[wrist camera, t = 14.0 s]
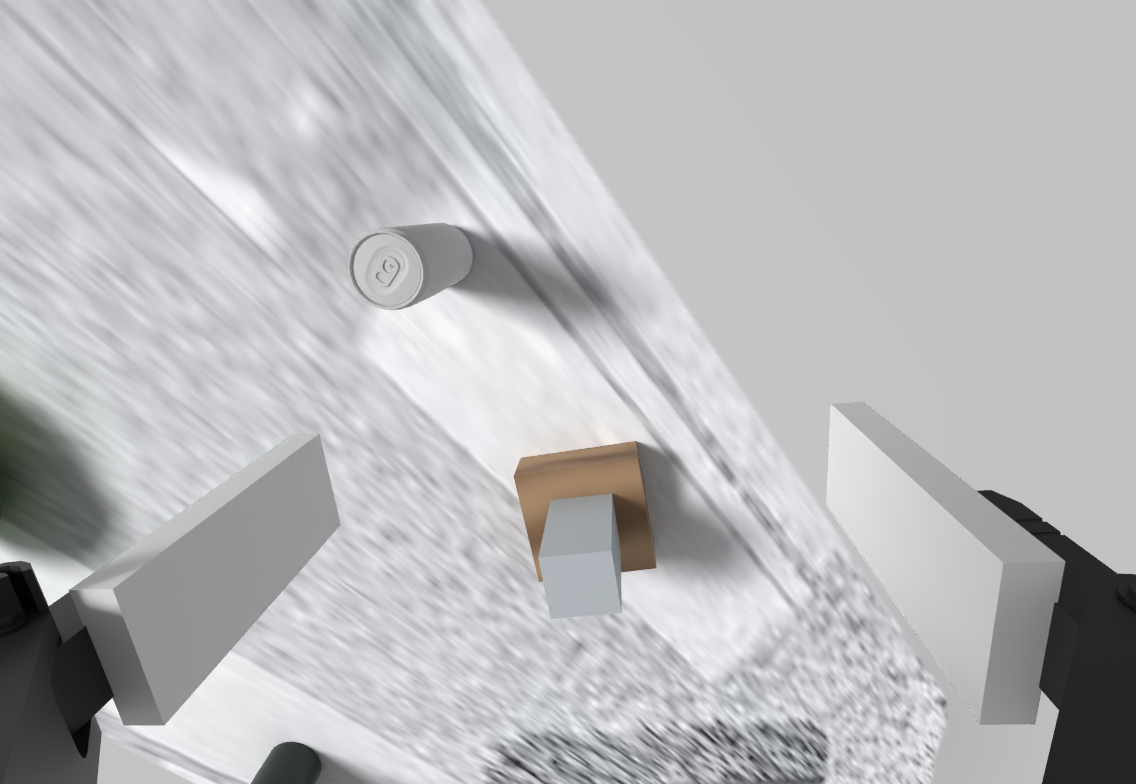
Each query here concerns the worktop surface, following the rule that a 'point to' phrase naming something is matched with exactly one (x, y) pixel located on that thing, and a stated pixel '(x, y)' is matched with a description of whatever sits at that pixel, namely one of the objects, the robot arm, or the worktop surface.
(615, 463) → the walnut block
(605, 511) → the slate block
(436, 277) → the beverage can
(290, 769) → the wine bottle
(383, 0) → the worktop surface
